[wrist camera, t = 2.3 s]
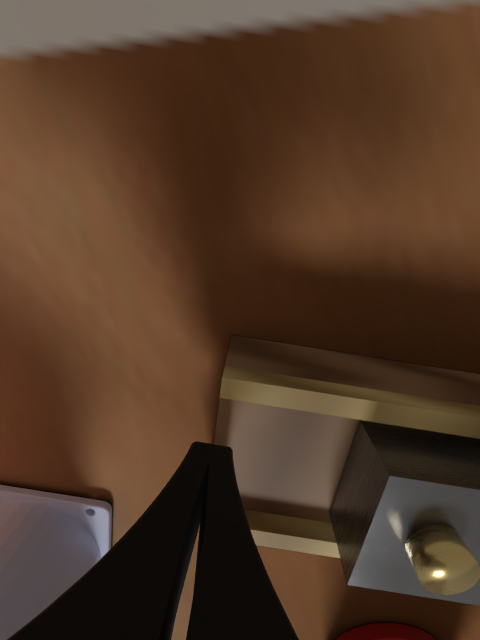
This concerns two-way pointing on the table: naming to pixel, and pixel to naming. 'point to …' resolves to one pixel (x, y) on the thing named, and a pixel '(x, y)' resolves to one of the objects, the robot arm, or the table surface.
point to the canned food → (385, 632)
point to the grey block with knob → (410, 512)
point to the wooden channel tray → (320, 427)
